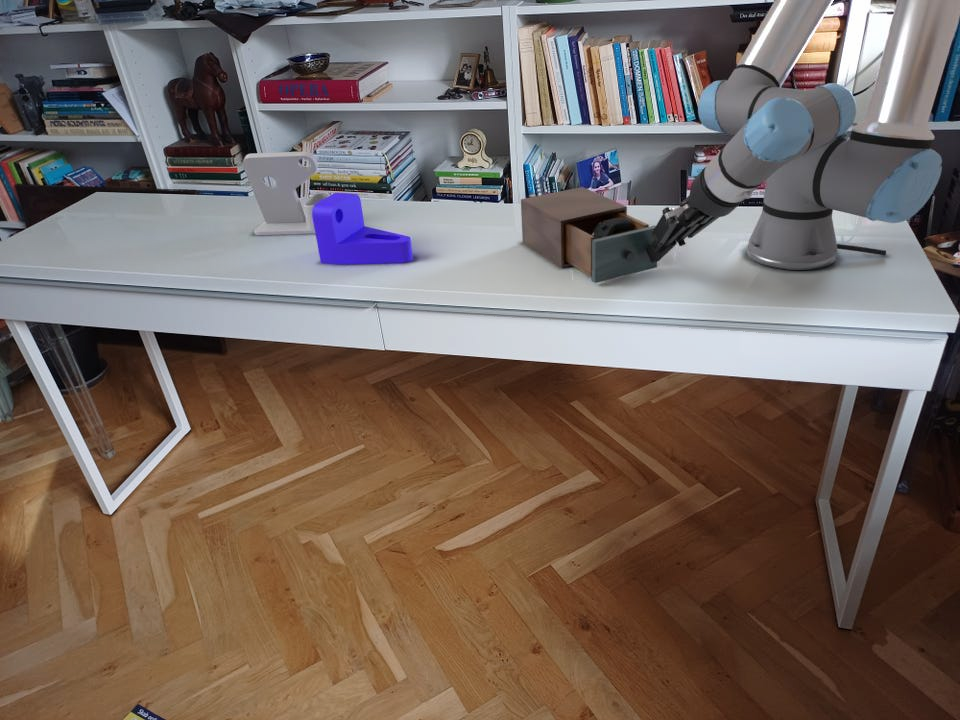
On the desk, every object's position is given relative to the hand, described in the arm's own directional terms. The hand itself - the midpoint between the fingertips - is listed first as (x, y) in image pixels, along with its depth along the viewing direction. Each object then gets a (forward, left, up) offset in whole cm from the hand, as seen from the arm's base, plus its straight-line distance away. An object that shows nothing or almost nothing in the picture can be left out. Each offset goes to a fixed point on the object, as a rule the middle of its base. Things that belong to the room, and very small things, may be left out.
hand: (652, 255), depth 130 cm
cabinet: (+20, -6, -4) cm, 21 cm away
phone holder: (+84, +10, -4) cm, 84 cm away
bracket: (+54, +16, -4) cm, 56 cm away
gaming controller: (+9, -1, 0) cm, 9 cm away
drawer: (+9, 0, -3) cm, 10 cm away
